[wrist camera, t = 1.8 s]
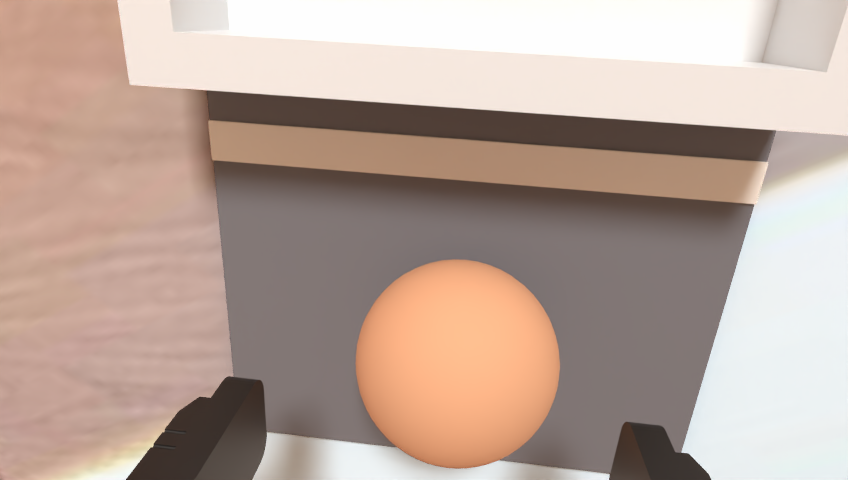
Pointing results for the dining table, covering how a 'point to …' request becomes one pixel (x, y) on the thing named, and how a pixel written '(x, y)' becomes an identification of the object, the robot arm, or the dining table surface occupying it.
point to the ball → (457, 363)
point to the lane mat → (480, 249)
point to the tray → (513, 55)
